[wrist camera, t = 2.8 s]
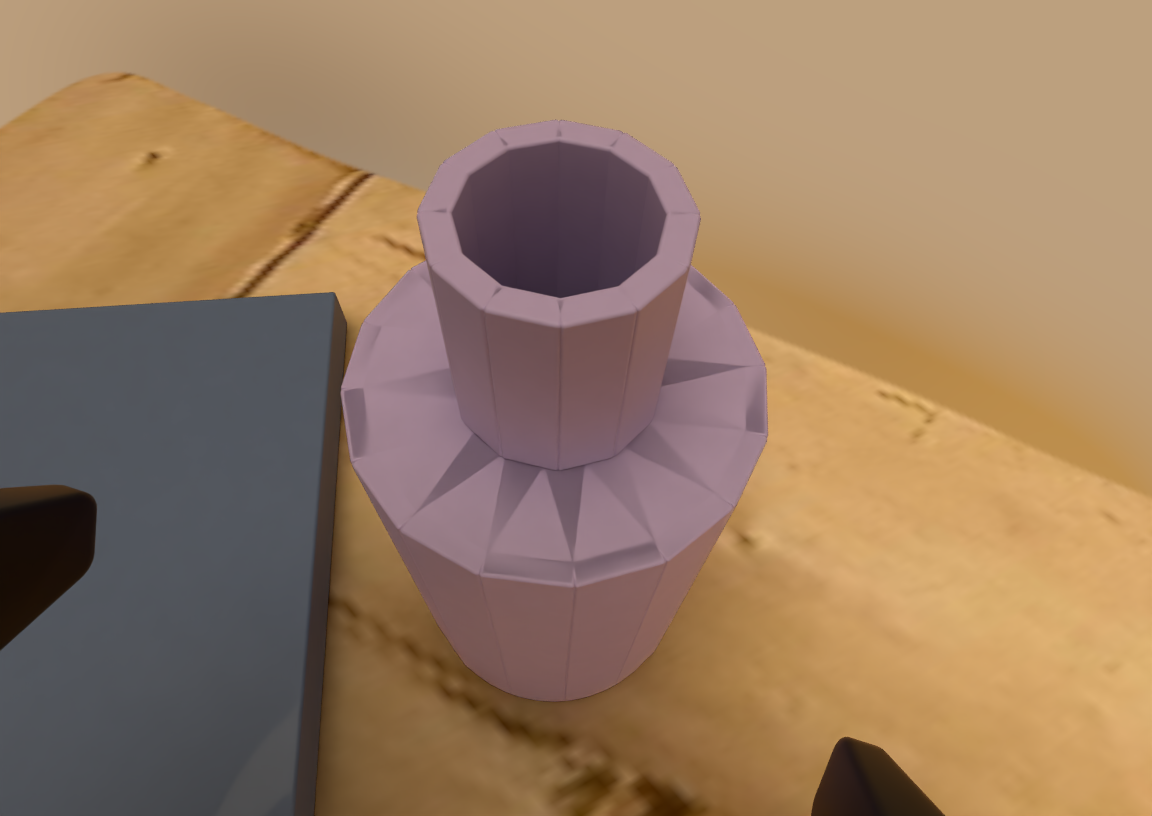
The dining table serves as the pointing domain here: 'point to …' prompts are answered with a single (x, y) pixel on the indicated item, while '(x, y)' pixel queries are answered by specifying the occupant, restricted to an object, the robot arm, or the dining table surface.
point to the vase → (555, 406)
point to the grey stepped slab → (175, 555)
